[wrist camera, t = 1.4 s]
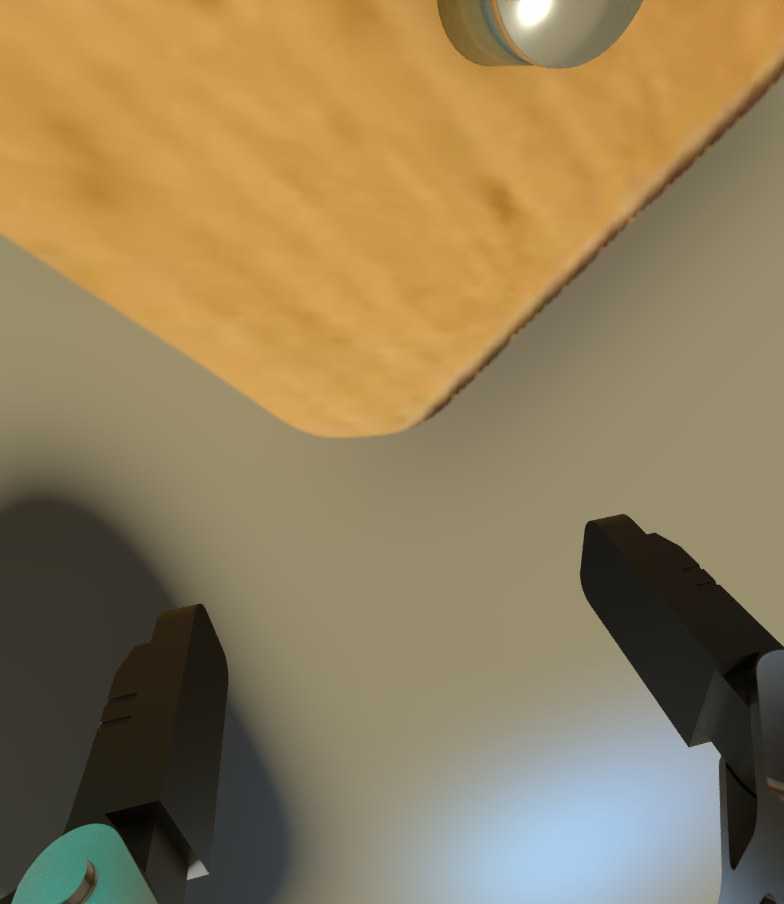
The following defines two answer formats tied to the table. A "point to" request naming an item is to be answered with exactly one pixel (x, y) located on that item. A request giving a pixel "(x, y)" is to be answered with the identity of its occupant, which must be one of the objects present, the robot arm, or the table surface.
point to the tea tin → (535, 30)
